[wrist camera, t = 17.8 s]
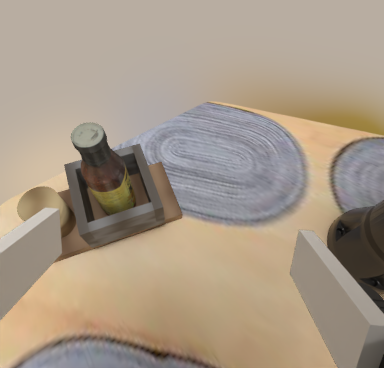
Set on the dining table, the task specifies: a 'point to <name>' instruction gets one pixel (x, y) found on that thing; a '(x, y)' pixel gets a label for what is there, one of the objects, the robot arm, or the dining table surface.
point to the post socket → (93, 213)
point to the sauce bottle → (103, 169)
